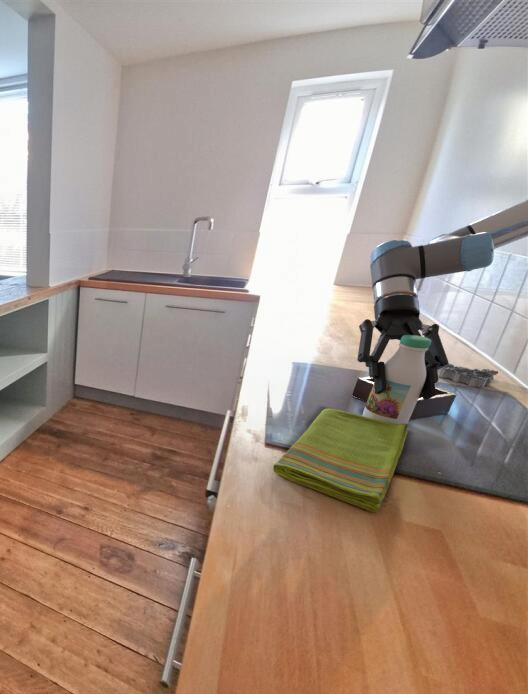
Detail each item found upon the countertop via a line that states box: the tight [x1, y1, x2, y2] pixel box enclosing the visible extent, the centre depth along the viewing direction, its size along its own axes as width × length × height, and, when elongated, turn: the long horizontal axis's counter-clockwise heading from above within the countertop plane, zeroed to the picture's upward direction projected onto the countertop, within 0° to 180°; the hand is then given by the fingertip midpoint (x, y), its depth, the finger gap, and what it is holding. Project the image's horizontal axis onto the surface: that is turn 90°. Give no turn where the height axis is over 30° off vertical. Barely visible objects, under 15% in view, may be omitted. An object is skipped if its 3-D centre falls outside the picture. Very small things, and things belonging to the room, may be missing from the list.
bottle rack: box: [351, 376, 457, 421], centre depth 100 cm, size 13×12×5 cm
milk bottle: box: [361, 335, 431, 424], centre depth 89 cm, size 8×8×20 cm
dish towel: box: [272, 407, 409, 513], centre depth 80 cm, size 15×36×3 cm, turn 133°
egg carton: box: [437, 363, 499, 389], centre depth 115 cm, size 11×8×4 cm
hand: (404, 394), depth 86 cm, fingers closed on milk bottle, 8 cm apart
